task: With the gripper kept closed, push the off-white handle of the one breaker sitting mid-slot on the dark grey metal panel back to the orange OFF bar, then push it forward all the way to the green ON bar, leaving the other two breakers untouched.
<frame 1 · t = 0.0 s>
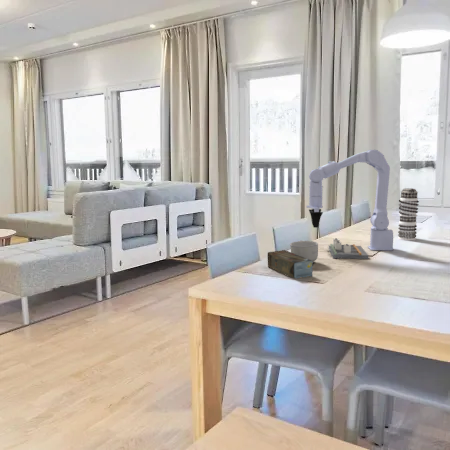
hand: (315, 226, 208), 10 cm above the table, tool pointing down, fingers open, 7 cm apart
breaker b: (337, 245, 197), point 3 cm above the table, slide at 6.0 cm
beverage carton: (289, 272, 168), on the table
teacup: (303, 262, 183), on the table
breaker a: (336, 242, 204), point 3 cm above the table, slide at 6.0 cm
panel: (347, 253, 197), on the table
tripped breaker: (347, 248, 190), point 3 cm above the table, slide at 3.0 cm
decorative candle: (407, 239, 230), on the table
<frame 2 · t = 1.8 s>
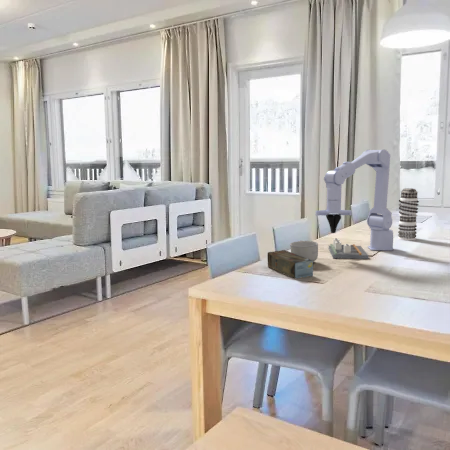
hand: (333, 232, 190), 10 cm above the table, tool pointing down, fingers closed
nothing on the table moved.
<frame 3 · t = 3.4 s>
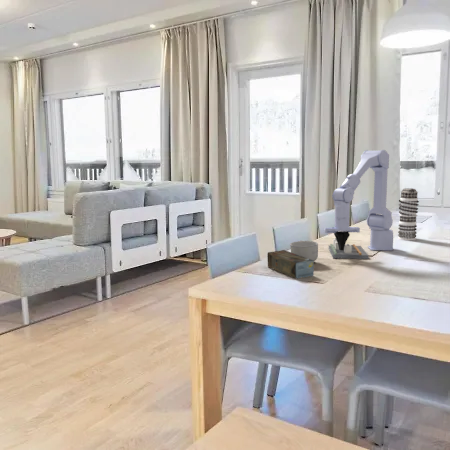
hand: (341, 249, 191), 3 cm above the table, tool pointing down, fingers closed
tripped breaker: (347, 248, 190), point 3 cm above the table, slide at 2.7 cm, touching gripper
everything else where it was.
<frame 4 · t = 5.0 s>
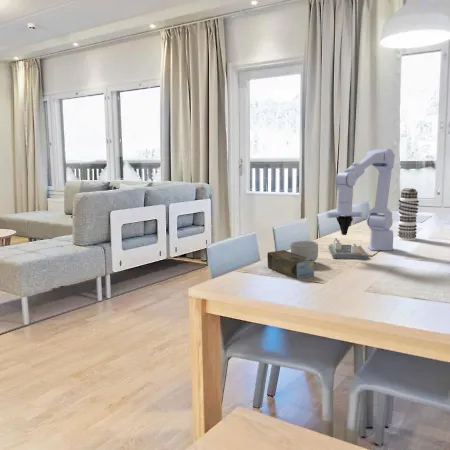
hand: (344, 234, 190), 9 cm above the table, tool pointing down, fingers closed
tripped breaker: (354, 248, 190), point 3 cm above the table, slide at -0.1 cm
everything else where it was.
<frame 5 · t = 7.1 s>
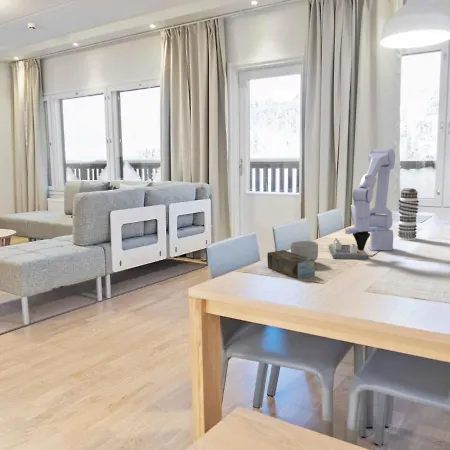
hand: (360, 250, 190), 3 cm above the table, tool pointing down, fingers closed
tripped breaker: (353, 248, 190), point 3 cm above the table, slide at 0.4 cm, touching gripper
everything else where it was.
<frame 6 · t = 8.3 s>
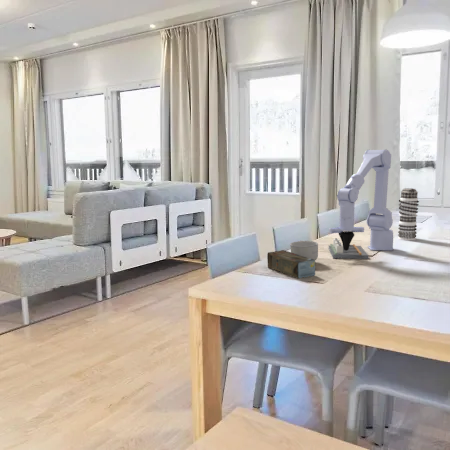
hand: (345, 249, 191), 3 cm above the table, tool pointing down, fingers closed
tripped breaker: (339, 248, 191), point 3 cm above the table, slide at 6.1 cm, touching gripper
everything else where it was.
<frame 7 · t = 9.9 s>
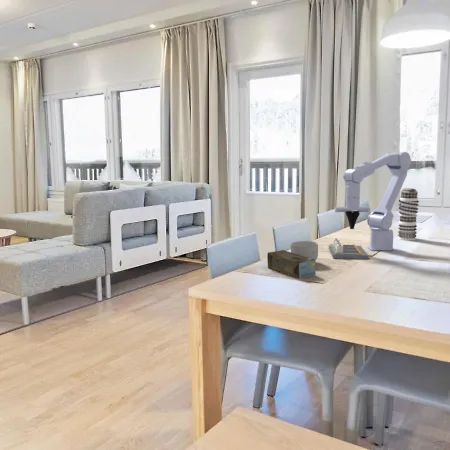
hand: (351, 228, 198), 10 cm above the table, tool pointing down, fingers closed
tripped breaker: (339, 248, 191), point 3 cm above the table, slide at 6.1 cm
everything else where it was.
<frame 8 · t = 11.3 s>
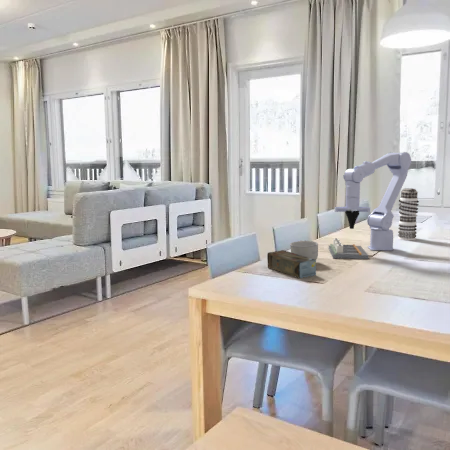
hand: (351, 228, 198), 10 cm above the table, tool pointing down, fingers closed
nothing on the table moved.
at the end: tripped breaker slide at 6.1 cm; breaker a slide at 6.0 cm; breaker b slide at 6.0 cm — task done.
